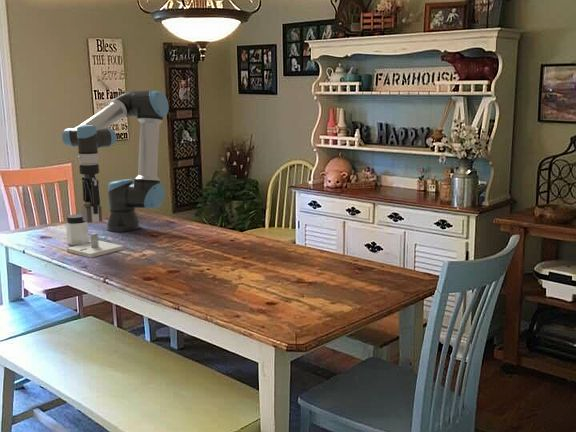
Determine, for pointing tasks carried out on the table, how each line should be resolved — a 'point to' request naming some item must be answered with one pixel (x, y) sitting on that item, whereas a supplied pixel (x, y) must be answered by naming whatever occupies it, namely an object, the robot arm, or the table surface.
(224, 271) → the table surface
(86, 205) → the brown box
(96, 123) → the robot arm
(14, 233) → the table surface
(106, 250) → the board
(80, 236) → the jar
